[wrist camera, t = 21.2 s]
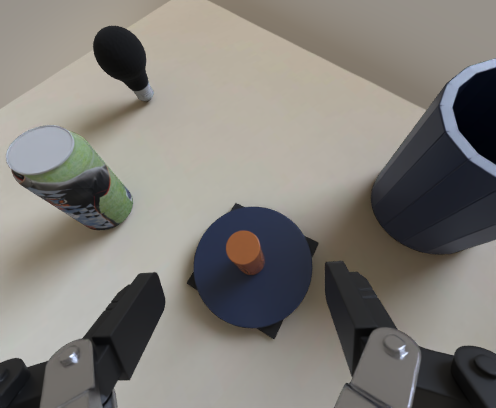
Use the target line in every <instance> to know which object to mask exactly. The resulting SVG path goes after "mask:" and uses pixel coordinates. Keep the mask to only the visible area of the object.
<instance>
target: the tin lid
mask: <svg viewBox="0 0 496 408" xmlns="http://www.w3.org/2000/svg"><path fill="white" fill-rule="evenodd" d="M311 277H312V257H311V252H310V248H309V245H308V243H307V241H306V239H305V237H304V235H303V234H302V232H301V230H300V229H299V228H298V227H297V226H296V225H295V224H294V223H293V222H292V221H291V220H290V219H289V218H287V217H286V216H284V215H283V214H281V213H279V212H277V211H274V210H271V209H268V208H263V207H245V208H240V209H236V210H233V211H231V212H229V213H227V214H225V215H223V216H221V217H220V218H218V219H217V220H216V221H215V222H214V223H213V224H212V225H211V226H210V227H209V228H208V229H207V230H206V232H205V233H204V235H203V236H202V238H201V240H200V242H199V244H198V247H197V250H196V253H195V258H194V279H195V283H196V287H197V290H198V292H199V295H200V296H201V298H202V300H203V302H204V303H205V304H206V306H207V307H208V308H209V309H210V310H211V311H212V312H213V313H214V314H215V315H216V316H218V317H219V318H220V319H222V320H224V321H225V322H227V323H230V324H232V325H235V326H239V327H243V328H261V327H266V326H270V325H272V324H275V323H277V322H279V321H281V320H283V319H284V318H286V317H287V316H288V315H290V314H291V313H292V312H293V311H294V310H295V309H296V308H297V307H298V306H299V304H300V303H301V302H302V300H303V299H304V297H305V295H306V293H307V291H308V288H309V285H310V281H311Z"/></svg>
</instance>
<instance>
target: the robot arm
mask: <svg viewBox="0 0 496 408" xmlns="http://www.w3.org/2000/svg"><path fill="white" fill-rule="evenodd" d="M325 295H326V300H327V304H328V307H329V310H330V313H331V316H332V319H333V322H334V325H335V328H336V331H337V334H338V337H339V340H340V343H341V346H342V349H343V352H344V355H345V358H346V361H347V364H348V367H349V370H350V373H351V376H352V380H351V382H350V383H349V384H348V383H346V384H345V385H344V387H343V389H342V391H341V393H340V395H339V397H338V400H337V402H336V404H335V407H334V408H496V354H495V353H493V352H491V351H489V350H486V349H484V348H480V347H476V346H462V347H460V348H458V349H457V350H456V352H455V354H454V356H453V355H449V354H445V353H441V352H436V351H432V350H428V349H425V348H422V347H420V346H418V345H417V344H416V342H415V341H414V340H413V339H412V338H411V337H409V336H408V335H407V334H405V333H403V332H401V331H399V330H398V329H397V328H396V326H395V324H394V323H393V321H392V320H391V318H390V316H389V315H388V313H387V311H386V310H385V308H384V307H383V305H382V303H381V302H380V300H379V298H377V295H376V294H375V292H374V290H372V287H371V285H370V284H369V282H368V280H367V279H366V278H364V277H363V276H362V275H361V274H359V273H358V272H349V271H348V269H347V267H346V265H345V263H344V262H343V261H333V262H326V263H325ZM164 308H165V296H164V293H163V289H162V286H161V283H160V279H159V276H158V274H157V273H156V272H153V273H140V274H138V275H137V277H136V278H135V279H134V281H133V282H132V283H131V285H127V286H126V287H125V288H124V289H122V290H121V291H120V292H119V293H118V294H117V295H116V296H115V298H114V299H113V300H112V301H111V303H110V304H109V305H108V307H107V308H106V310H105V311H104V312H103V313H102V314H101V315H100V317H99V318H98V319H97V321H96V322H95V323H94V324H93V326H92V327H91V328H90V329H89V331H88V332H87V333H86V335H85V336H84V337H83V338H82V339H78V340H75V341H72V342H70V343H68V344H66V345H65V346H63V347H62V348H60V349H59V350H58V351H57V352H56V353H55V354H54V355H53V356H52V357H51V358H50V359H49V361H46V362H43V363H40V364H36V365H33V366H30V367H26V365H25V363H24V362H23V360H22V359H19V358H14V359H9V360H6V361H4V362H2V363H0V408H118V406H117V399H116V393H115V390H114V386H115V384H116V383H117V381H118V380H130V378H131V376H132V374H133V372H134V370H135V368H136V366H137V364H138V362H139V360H140V358H141V356H142V354H143V352H144V350H145V348H146V346H147V344H148V342H149V340H150V338H151V336H152V334H153V331H154V329H155V327H156V325H157V323H158V321H159V319H160V317H161V315H162V313H163V311H164Z"/></svg>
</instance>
